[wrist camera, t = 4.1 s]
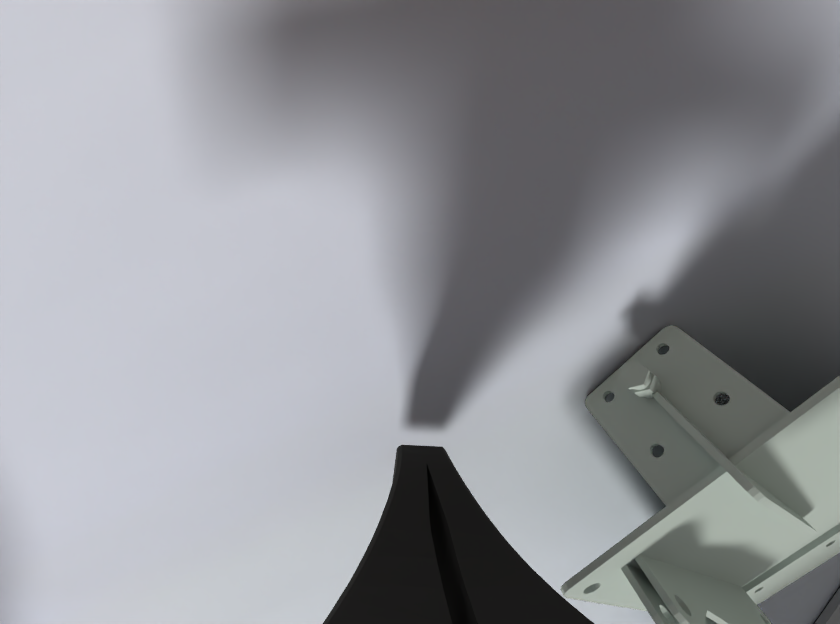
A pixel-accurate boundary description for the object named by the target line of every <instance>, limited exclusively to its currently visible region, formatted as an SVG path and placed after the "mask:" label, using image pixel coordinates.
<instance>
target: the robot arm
mask: <svg viewBox="0 0 840 624" xmlns="http://www.w3.org/2000/svg"><path fill="white" fill-rule="evenodd" d="M323 624H594V623H593V622H592V621H590V620H589V619H588V618H586V617H585V616H584V615H583V614H582V613H580V612H579V611H578V610H577V609H576V608H574V607H573V606H572V605H571V604H570V603H569V602H567V601H566V600H565V599H564V598H563V597H562V596H560V595H559V594H558V593H557V592H556V591H555V590H554V589H553V588H552V587H551V586H550V585H549V584H548V583H546V582H545V581H544V580H543V579H542V578H541V577H540V576H539V575H538V574H537V573H536V572H535V571H534V570H533V569H532V568H531V567H530V566H529V565H528V564H527V563H526V562H525V561H524V560H523V559H522V558H521V557H520V555H519V554H518V553H517V552H516V551H515V550H514V549H513V548H512V546H511V545H510V544H509V543H508V542H507V541H506V539H505V538H504V537H503V536H502V535H501V533H500V532H499V531H498V530H497V528H496V527H495V526H494V525H493V523H492V522H491V521H490V519H489V518H488V517H487V515H486V514H485V513H484V511H483V510H482V508H481V507H480V506H479V504H478V503H477V501H476V500H475V498H474V497H473V495H472V494H471V492H470V491H469V489H468V488H467V486H466V485H465V483H464V482H463V480H462V478H461V477H460V475H459V473H458V472H457V470H456V468H455V467H454V465H453V463H452V461H451V460H450V458H449V456H448V454H447V452H446V450H445V449H444V448H443V447H435V446H414V445H401V446H399V447H398V448H397V453H396V460H395V468H394V476H393V483H392V487H391V490H390V494H389V497H388V500H387V503H386V506H385V508H384V511H383V514H382V516H381V519H380V521H379V524H378V526H377V529H376V531H375V533H374V535H373V538H372V540H371V542H370V544H369V546H368V548H367V550H366V552H365V554H364V556H363V558H362V560H361V562H360V564H359V566H358V567H357V569H356V571H355V573H354V575H353V577H352V578H351V580H350V582H349V583H348V585H347V587H346V588H345V590H344V592H343V593H342V595H341V596H340V598H339V600H338V601H337V603H336V604H335V606H334V608H333V609H332V611H331V612H330V614H329V615H328V617H327V618H326V620H325V621H324V623H323Z"/></svg>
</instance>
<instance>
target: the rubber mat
mask: <svg viewBox="0 0 840 624" xmlns="http://www.w3.org/2000/svg"><path fill="white" fill-rule="evenodd" d="M815 624H840V588H839V589H838V591H837V592H836V594H835V595H834V596H833V598H832V599H831V601H830V602H829V604H828V605H827V606H826V608H825V609H824V611H823V612H822V614H821V615H820V617H819V618H818V619H817V621H816V622H815Z"/></svg>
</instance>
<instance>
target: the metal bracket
mask: <svg viewBox="0 0 840 624" xmlns="http://www.w3.org/2000/svg"><path fill="white" fill-rule="evenodd" d="M662 346H669V351H668V352H667V353H666V354H663V355H660V354H659V352H658V351H659V349H660V348H661V347H662ZM609 393H614V399H613V400H612V401H611V402H606V396H607V395H608V394H609ZM721 394H727V395H729V397H730V400H729V402H728V403H727V404H726V405H718V404H716V401H715V400H716V397H717V396H718V395H721ZM585 405H586V407H587V409H588V410H589V411H590V413H591V414H592V415H593V416H594V418H595V419H596V420H597V421H598V423H599V424H600V425H601V426H602V427H603V429H604V430H605V431H606V432H607V434H608V435H609V436H610V437H611V439H612V440H613V441H614V442H615V444H616V445H617V446H618V447H619V448H620V450H621V451H622V452H623V453H624V455H625V456H626V457H627V458H628V460H629V461H630V462H631V463H632V465H633V466H634V467H635V468H636V470H637V471H638V472H639V473H640V474H641V476H642V477H643V478H644V479H645V481H646V482H647V483H648V484H649V486H650V487H651V488H652V489H653V491H654V492H655V493H656V494H657V495H658V497H659V498H660V499H661V500H662V502H663V503H664V504H665V505H666V507H664V508H663V509H662V510H660V511H659V512H658V513H657V514H655V515H654V516H653V517H651V518H650V519H649V520H647V521H646V522H645V523H643V524H642V525H641V526H639V527H638V528H637V529H635V530H634V531H633V532H631V533H630V534H629V535H627V536H626V537H625V538H623V539H622V540H621V541H619V542H618V543H617V544H615V545H614V546H613V547H612V548H610V549H609V550H608V551H606V552H605V553H604V554H602V555H601V556H600V557H598V558H597V559H596V560H594V561H593V562H592V563H590V564H589V565H588V566H586V567H585V568H584V569H582V570H581V571H580V572H578V573H577V574H576V575H574V576H573V577H572V578H570V579H569V580H568V581H566V582H565V583H564V584H563V585H562V586H561V591H562V593H563V595H564V597H566V598H569V599H575V600H582V601H588V602H594V603H600V604H606V605H612V606H618V607H624V608H630V609H637V610H643V611H648V612H649V614H650V616H651V617H652V619H653V620H654V622H655V623H656V624H772V623H771V622H770V621H769V620H768V618H767V617H766V616H765V615H764V613H763V612H762V611H761V610H760V609H759V607H758V606H757V605H758V604H760V603H761V602H763V601H764V600H766V599H768V598H769V597H771V596H772V595H774V594H776V593H777V592H779V591H780V590H782V589H783V588H785V587H787V586H788V585H790V584H791V583H793V582H794V581H796V580H798V579H799V578H801V577H802V576H804V575H805V574H807V573H809V572H810V571H812V570H813V569H815V568H817V567H818V566H820V565H821V564H823V563H824V562H826V561H828V560H829V559H831V558H832V557H834V556H835V555H837V554H839V553H840V375H839V376H838V377H837V378H835V379H834V380H833V381H831V382H830V383H829V384H827V385H826V386H825V387H823V388H822V389H821V390H819V391H818V392H817V393H815V394H814V395H813V396H811V397H810V398H809V399H807V400H806V401H805V402H803V403H802V404H801V405H800V406H798V407H797V408H796V409H794V410H793V411H792V412H790V411H788V410H787V409H786V408H784V407H783V406H782V405H780V404H779V403H778V402H776V401H775V400H774V399H772V398H771V397H770V396H768V395H767V394H766V393H764V392H763V391H762V390H760V389H759V388H758V387H756V386H755V385H754V384H752V383H751V382H750V381H748V380H747V379H746V378H745V377H743V376H742V375H741V374H739V373H738V372H737V371H735V370H734V369H733V368H731V367H730V366H729V365H727V364H726V363H725V362H723V361H722V360H721V359H719V358H718V357H717V356H715V355H714V354H713V353H711V352H710V351H709V350H707V349H706V348H705V347H703V346H702V345H701V344H699V343H698V342H697V341H695V340H694V339H693V338H692V337H690V336H689V335H688V334H686V333H685V332H684V331H682V330H681V329H680V328H678V327H676V326H667V327H665V328H663V329H662V330H661V331H660V332H659V333H658V334H657V335H655V336H654V337H653V338H652V339H651V340H650V341H649V342H648V343H647V344H645V345H644V346H643V347H642V348H641V349H640V350H639V351H638V352H636V353H635V354H634V355H633V356H632V357H631V358H630V359H629V360H628V361H626V362H625V363H624V364H623V365H622V366H621V367H620V368H619V369H617V370H616V371H615V372H614V373H613V374H612V375H611V376H610V377H609V378H607V379H606V380H605V381H604V382H603V383H602V384H601V385H600V386H598V387H597V388H596V389H595V390H594V391H593V392H592V393H591V394H590V395H588V397H587V398H586V400H585ZM658 445H660V446H662V447H663V448H664V453H663V455H662V456H661V457H654V455H653V453H652V450H653V448H654V447H655V446H658Z"/></svg>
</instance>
